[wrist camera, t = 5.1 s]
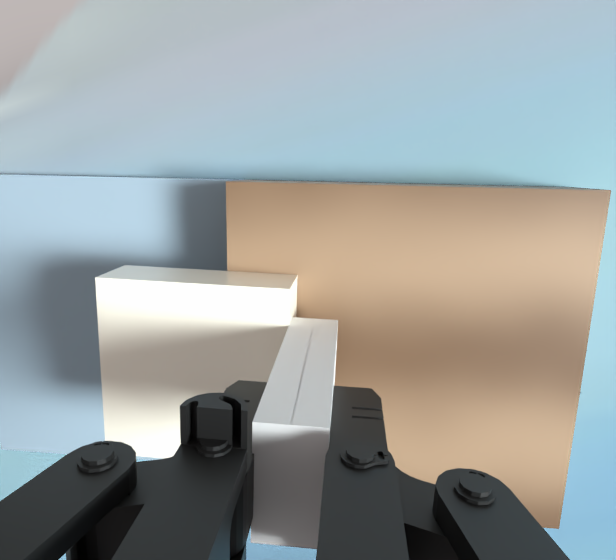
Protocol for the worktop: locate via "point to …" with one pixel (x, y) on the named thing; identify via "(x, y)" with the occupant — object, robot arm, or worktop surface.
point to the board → (444, 311)
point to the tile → (182, 343)
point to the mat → (83, 287)
